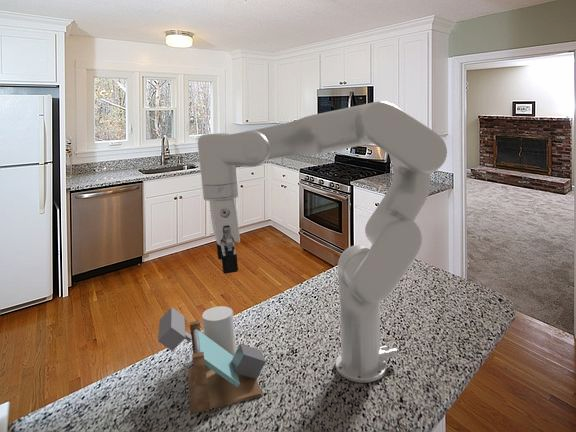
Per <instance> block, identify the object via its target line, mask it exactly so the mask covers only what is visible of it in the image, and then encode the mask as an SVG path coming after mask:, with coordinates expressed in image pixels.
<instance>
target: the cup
mask: <svg viewBox="0 0 576 432" xmlns="http://www.w3.org/2000/svg"><path fill="white" fill-rule="evenodd" d="M201 318H202V325H203V334H204V335H205V336H207V337H208V338H210V339H211V340H212V341H214V342H215V343H216V344H218V345H219V346H220V347H222V348H223V349H225V350H226V351H227V352H229V353H230V354H231V355H233V357H234V355H235V353H236V351H237V346H236V345H237V344H236V335H235V333H236V332H235V323H234V321H235V320H234V311H233V309H232V308H231V307H229V306H226V305H225V306H222V305H220V306H213V307H211V308H208V309H206V310H205V311H204V312H202V315H201Z"/></svg>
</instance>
